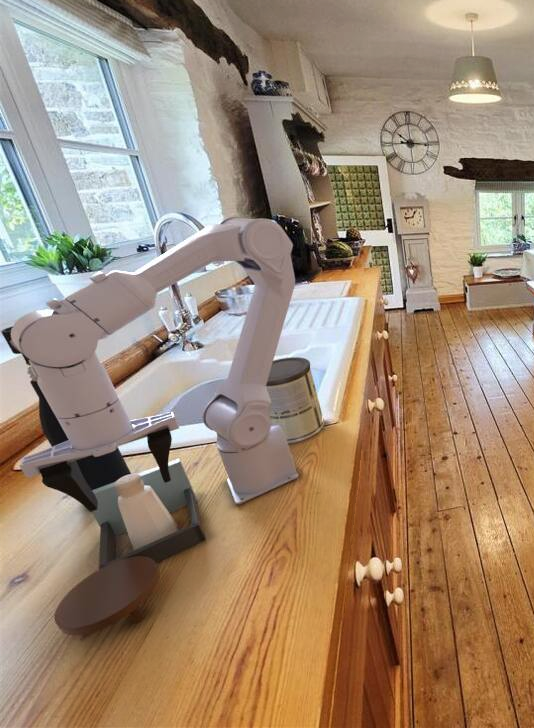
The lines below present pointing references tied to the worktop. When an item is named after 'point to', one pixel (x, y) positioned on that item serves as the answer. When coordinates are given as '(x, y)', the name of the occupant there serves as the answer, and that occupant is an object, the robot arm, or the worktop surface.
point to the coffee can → (294, 399)
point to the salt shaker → (142, 511)
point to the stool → (108, 596)
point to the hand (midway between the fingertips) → (132, 492)
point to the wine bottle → (92, 468)
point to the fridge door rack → (173, 499)
